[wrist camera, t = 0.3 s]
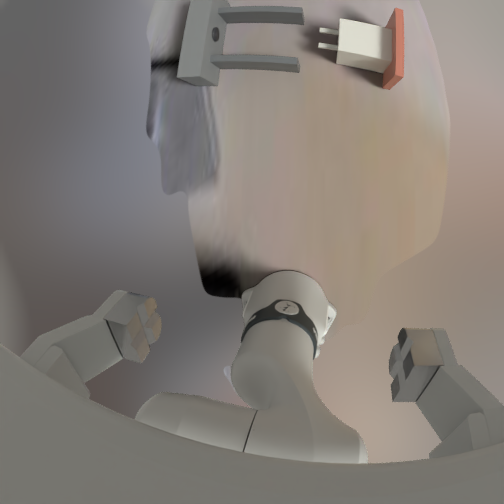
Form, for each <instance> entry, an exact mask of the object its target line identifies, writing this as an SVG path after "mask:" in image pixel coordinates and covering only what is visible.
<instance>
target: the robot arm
mask: <svg viewBox="0 0 504 504" xmlns="http://www.w3.org/2000/svg"><path fill="white" fill-rule="evenodd" d="M242 305H243V314H242V317H243V318H244V325H245V328H244V330H243V335H242V338H241V346H240V348H239V350H238V352H237V355H236V357H235V359H234V361H233V364H232V366H231V380H232V384H233V386H234V388H235V390H236V392H237V393H238V395H239V396H240V398H241V399H242V400H243V401H244V402H246V403H247V404H248V405H249V406H250V407H252V408H253V409H252V408H247V407H243V406H239V405H234V404H230V403H226V402H222V401H218V400H214V399H211V398H207V397H203V396H197V395H188V394H179V393H169V392H161V393H158V394H157V395H155V396H153V397H152V398H150V399H149V400H148V401H147V402H146V403H144V404H143V406H142V407H141V408H140V410H139V411H138V413H137V415H136V417H135V419H131V418H129V417H126V416H124V415H122V414H120V413H117V412H115V411H113V410H110V409H108V408H106V407H104V406H102V405H100V404H98V403H96V402H94V401H91V400H90V399H88V398H89V396H90V391H89V390H88V389H87V387H86V386H85V384H84V383H85V382H87V381H88V380H90V379H92V378H93V377H94V376H96V375H98V374H99V373H101V372H102V371H104V370H106V369H107V368H109V367H110V366H112V365H114V364H115V363H117V362H118V361H120V360H121V359H122V358H125V359H129V360H132V361H135V362H139V363H142V362H143V361H144V359H145V357H146V356H147V354H148V353H149V351H150V344H152V343H154V342H156V340H157V339H158V337H159V336H160V332H161V328H162V324H161V318H160V316H159V315H158V314H157V313H156V311H155V310H156V308H157V304H156V301H155V299H154V298H152V297H148V296H144V295H140V294H135V293H131V292H126V291H121V290H117V291H115V292H114V293H113V294H112V295H111V296H110V297H109V298H108V299H107V300H106V301H105V302H104V303H103V304H102V305H101V306H100V308H98V310H97V311H96V312H95V313H94V314H93V315H92V316H91V315H88V316H85V317H83V318H80V319H78V320H76V321H74V322H71V323H69V324H66V325H64V326H61V327H59V328H57V329H55V330H52V331H50V332H48V333H45V334H43V335H40V336H39V337H38V338H37V339H36V340H35V341H34V342H33V343H32V344H31V346H30V347H29V348H28V349H27V350H26V351H25V352H24V353H23V354H22V355H21V357H18V356H17V355H16V354H14V353H13V352H11V351H10V350H9V349H7V348H6V347H5V346H3V345H2V344H1V343H0V504H504V406H503V405H502V404H501V403H500V402H499V401H498V400H497V399H496V398H495V397H494V396H493V395H492V394H491V393H490V392H489V391H488V390H487V389H486V388H485V387H484V386H483V385H482V384H481V383H480V382H479V381H478V380H477V379H476V378H475V377H474V376H473V375H472V374H471V373H469V372H468V371H467V370H466V369H465V368H464V367H463V366H462V365H458V364H457V361H456V358H455V355H454V352H453V349H452V346H451V344H450V341H449V338H448V335H447V333H446V331H445V330H444V329H443V328H430V329H426V328H424V329H423V328H402V329H401V330H400V332H399V335H398V341H399V343H398V344H396V345H395V346H394V347H393V349H392V352H391V355H390V359H389V373H390V375H391V376H392V377H393V379H394V380H393V382H392V384H391V391H392V400H393V402H416V404H417V406H418V407H419V409H420V410H421V411H422V413H423V414H424V416H425V417H426V419H427V420H428V422H429V423H430V424H431V426H432V427H433V429H434V430H435V432H436V433H437V435H438V436H439V438H440V439H441V441H442V442H441V443H440V444H439V445H438V446H437V447H436V448H434V449H433V450H432V451H431V452H430V454H429V457H430V459H422V460H414V461H405V462H404V461H403V462H390V463H368V454H367V449H366V446H365V443H364V441H363V439H362V438H361V436H360V435H359V433H358V432H357V431H356V430H355V429H353V428H351V427H349V426H348V425H346V424H345V423H343V422H342V421H341V420H339V419H338V418H337V417H336V416H335V415H333V414H332V413H331V412H330V411H329V409H328V408H327V407H326V406H325V405H324V403H323V402H322V401H321V399H320V398H319V396H318V394H317V392H316V390H315V388H314V384H313V375H312V374H313V371H312V370H313V360H314V358H317V357H318V355H319V353H320V347H318V346H319V345H320V344H323V343H324V340H325V338H324V336H325V334H326V333H327V331H328V329H329V327H330V326H331V324H332V322H333V320H334V318H335V317H336V313H337V311H336V309H335V307H334V306H333V305H332V304H331V303H329V302H328V301H327V299H326V297H325V294H324V292H323V290H322V289H321V287H320V286H319V285H318V283H317V282H316V281H314V280H313V279H312V278H310V277H309V276H307V275H305V274H302V273H299V272H295V271H280V272H276V273H273V274H271V275H269V276H267V277H266V278H264V279H263V280H262V281H261V282H260V283H259V284H258V285H257V286H255V287H253V288H250V289H247V290H245V291H244V292H243V294H242ZM328 317H330V318H328Z"/></svg>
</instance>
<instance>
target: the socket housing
mask: <svg viewBox="0 0 504 504" xmlns="http://www.w3.org/2000/svg"><path fill="white" fill-rule="evenodd" d="M227 23H284V24H299V25H304V15H303V9H302V8H300V7H283V6H241V7H230V4H229V3H228V2H227V1H226V0H191V1H190V6H189V10H188V15H187V20H186V25H185V30H184V36H183V42H182V47H181V53H180V60H179V66H178V73H177V78H179V79H182V80H184V81H186V82H189V83H191V84H193V85H196V86H218V81H219V73H220V69H255V70H274V71H286V72H297V73H299V72H300V65H299V61H298V58H295V57H283V56H267V55H222V52H223V45H224V38H225V32H226V25H227Z"/></svg>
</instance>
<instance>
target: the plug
mask: <svg viewBox="0 0 504 504" xmlns="http://www.w3.org/2000/svg"><path fill="white" fill-rule="evenodd" d="M320 33H326V34H333V35H338V45H332V44H325V43H319V46H318V48H323V49H330V50H336V51H337V61H336V64H340V65H346V66H351V67H357V68H362V69H366V70H371V71H375V72H379V73H383V88H384V89H388V90H390V89H391V88H392V87H393V86H394V85H395V84H396V83H397V82H399V81H400V80H401V79H402V78H403V77H404V18H403V10H401V9H398V8H395V9H394V11H393V13H392V15H391V17H390V19H389V21H388V23H387V25H386V27H381V26H376V25H372V24H367V23H363V22H358V21H352V20H347V19H341V18H340V23H339V30H334V29H327V28H320Z"/></svg>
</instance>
